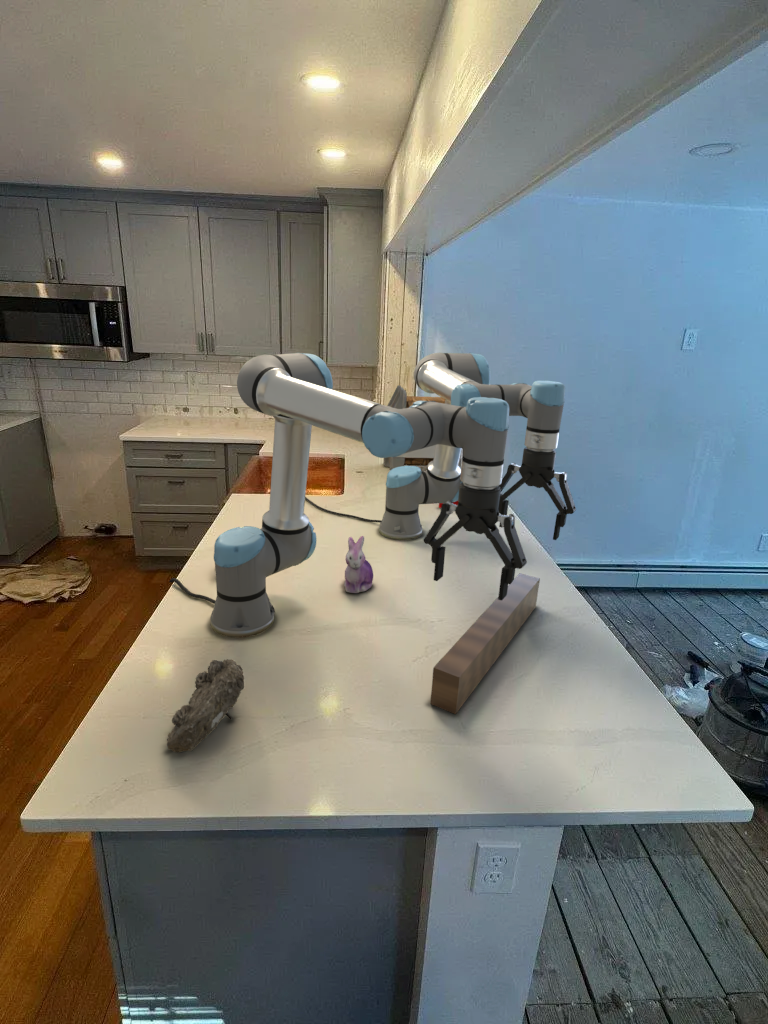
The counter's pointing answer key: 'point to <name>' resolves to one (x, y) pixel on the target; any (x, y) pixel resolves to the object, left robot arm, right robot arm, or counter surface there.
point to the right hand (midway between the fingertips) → (528, 532)
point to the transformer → (421, 455)
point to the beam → (482, 645)
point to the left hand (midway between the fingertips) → (469, 587)
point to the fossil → (206, 705)
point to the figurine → (357, 568)
